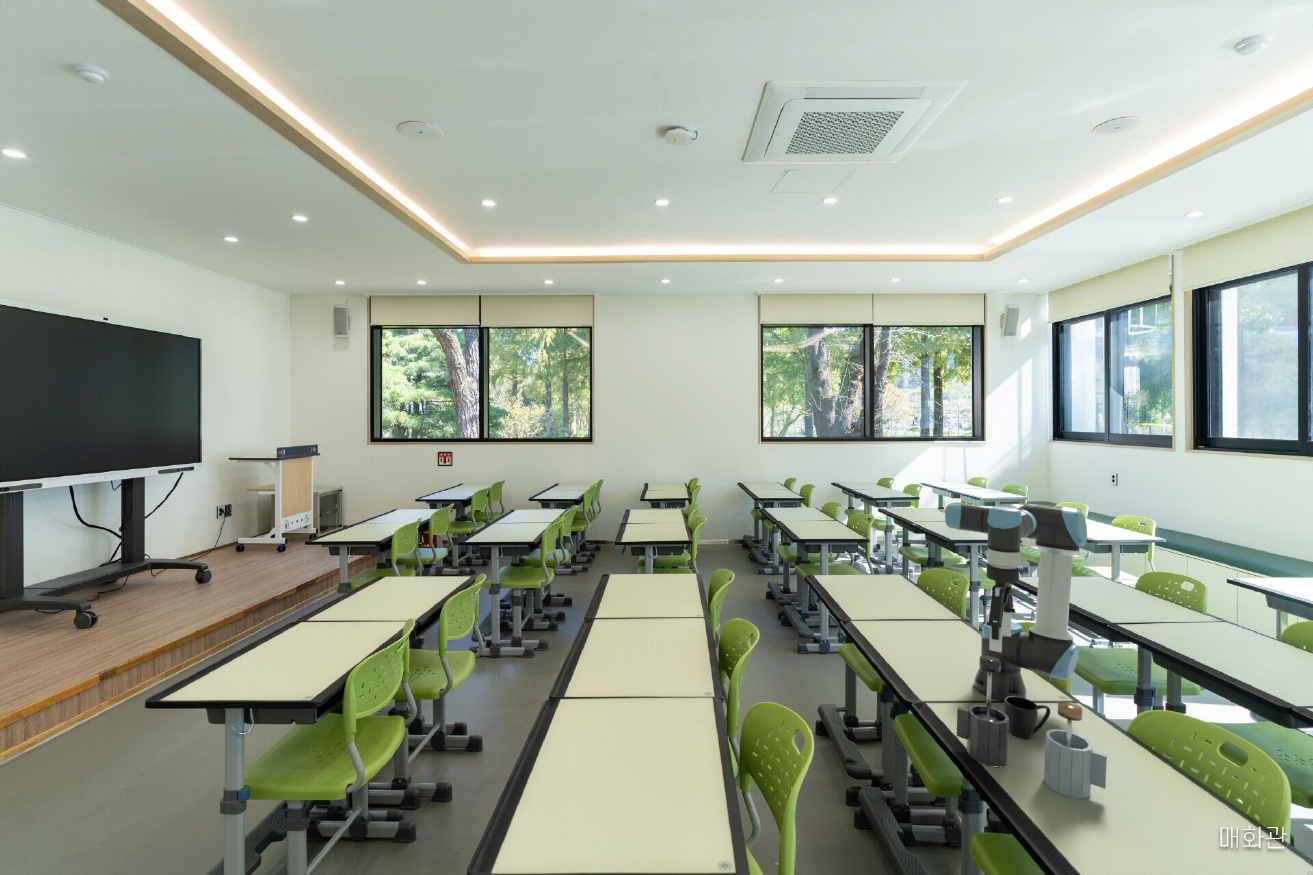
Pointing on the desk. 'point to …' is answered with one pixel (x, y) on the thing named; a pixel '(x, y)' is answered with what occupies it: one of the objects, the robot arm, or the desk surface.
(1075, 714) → the stone press plunger
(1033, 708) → the mug
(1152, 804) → the desk surface
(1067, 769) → the cup
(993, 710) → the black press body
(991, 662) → the black press plunger
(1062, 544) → the robot arm
